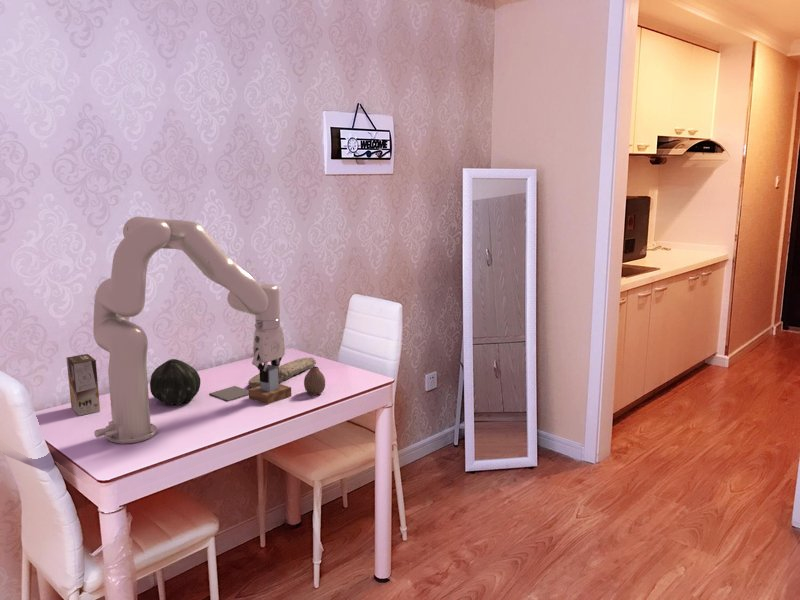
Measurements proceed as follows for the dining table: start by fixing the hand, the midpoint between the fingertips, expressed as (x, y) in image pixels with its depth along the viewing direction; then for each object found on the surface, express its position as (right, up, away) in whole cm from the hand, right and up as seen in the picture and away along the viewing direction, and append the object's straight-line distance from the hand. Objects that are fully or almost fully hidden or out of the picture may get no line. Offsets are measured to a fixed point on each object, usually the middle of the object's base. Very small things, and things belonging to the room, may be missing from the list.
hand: (269, 379), depth 206 cm
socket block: (0, -6, +1) cm, 6 cm away
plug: (0, -4, +1) cm, 4 cm away
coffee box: (-53, -8, -11) cm, 55 cm away
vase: (+14, -5, +5) cm, 16 cm away
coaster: (-13, -5, +4) cm, 15 cm away
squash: (-29, -7, -2) cm, 30 cm away
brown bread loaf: (+1, -2, +24) cm, 24 cm away
